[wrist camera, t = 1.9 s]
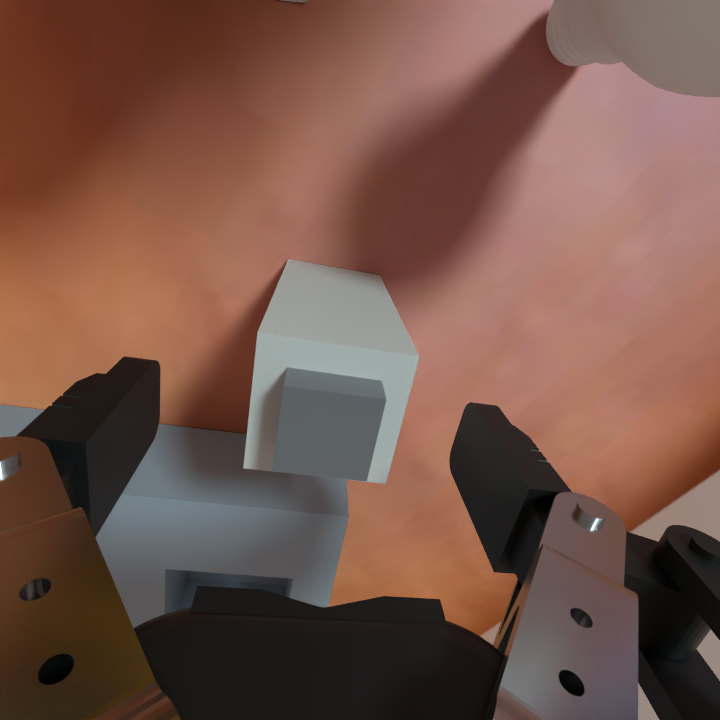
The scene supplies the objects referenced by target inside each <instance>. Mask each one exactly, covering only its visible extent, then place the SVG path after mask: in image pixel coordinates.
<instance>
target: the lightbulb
mask: <svg viewBox="0 0 720 720" xmlns="http://www.w3.org/2000/svg"><path fill="white" fill-rule="evenodd" d="M546 38H547V43H548V46H549V49H550V51H551V53H552V54H553V56H554V57H555V58H556V59H557V60H558V61H559V62H561V63H563V64H565V65H568V66H581V65H587V64H591V63H594V62H596V63H599V64H615V63H620V62H623V63H624V64H625V65H626V66H627V67H628V68H630V69H631V70H632V71H633V72H634V73H636V74H637V75H638V76H639V77H641V78H643V79H644V80H646V81H647V82H649V83H651V84H652V85H654V86H655V87H658V88H661V89H664V90H668V91H671V92H674V93H678V94H685V95H691V96H704V97H720V0H555V1H554V3H553V5H552V7H551V9H550V11H549V14H548V18H547V24H546Z"/></svg>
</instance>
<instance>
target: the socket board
mask: <svg viewBox="0 0 720 720" xmlns="http://www.w3.org/2000/svg"><path fill="white" fill-rule="evenodd" d="M43 411H44V410H40V409H31V408H23V407H14V406H6V405H0V437H10V436H16V435H17V434H18V433H20V432H21V431H22V430H23V429H24V428H25V427H26V426H27V425H29V424H30V423H31V422H32V421H33V420H34V419H35V418H36V417H38V416H39V415H40V414H41V413H42V412H43ZM246 438H247V434H241V433H233V432H224V431H216V430H208V429H199V428H191V427H182V426H174V425H166V424H159V425H158V430H157V433H156V436H155V439H154V441H153V443H152V444H151V446H150V448H149V449H148V451H147V453H146V454H145V456H144V458H143V459H142V461H141V463H140V464H139V466H138V468H137V469H136V471H135V473H134V474H133V476H132V478H131V479H130V481H129V483H128V484H127V486H126V488H125V489H124V491H123V493H122V494H121V496H120V498H119V499H118V501H117V503H116V504H115V506H114V508H113V509H112V511H111V513H110V514H109V516H108V518H107V519H106V521H105V523H104V524H103V526H102V528H101V529H100V531H99V533H98V534H97V536H96V540H97V543H98V545H99V548H100V550H101V552H102V555H103V557H104V559H105V562H106V564H107V567H108V569H109V571H110V574H111V576H112V578H113V581H114V583H115V586H116V588H117V590H118V593H119V595H120V597H121V600H122V602H123V605H124V607H125V609H126V612H127V614H128V616H129V619H130V621H131V624H132V626H133V628H134V627H136V626H138V625H140V624H142V623H144V622H146V621H148V620H151V619H153V618H156V617H158V616H160V615H163V614H166V613H170V612H173V611H176V610H180V609H185V608H190V607H191V606H192V603H193V599H194V596H195V592H196V589H197V586H212V587H230V588H247V589H262V590H265V591H268V592H272V593H275V594H278V595H282V596H285V597H288V598H292V599H295V600H298V601H302V602H305V603H308V604H312V605H315V606H319V607H328V603H329V599H330V595H331V590H332V586H333V582H334V578H335V573H336V569H337V565H338V560H339V556H340V552H341V547H342V543H343V539H344V534H345V530H346V526H347V521H348V517H349V515H348V498H347V482H346V479H337V478H328V477H319V476H310V475H300V474H291V473H282V472H273V471H263V470H254V469H245V468H243V466H244V457H245V447H246Z"/></svg>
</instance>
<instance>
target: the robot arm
mask: <svg viewBox="0 0 720 720" xmlns="http://www.w3.org/2000/svg"><path fill="white" fill-rule="evenodd" d="M159 418H160V365H159V362H158V361H155V360H148V359H140V358H132V357H123V358H122V359H121V360H120V361H119V362H118V363H117V364H116V365H115V366H114V367H113V368H112V369H111V370H110V371H109V372H107V373H106V374H100V373H96V374H94V375H91V376H89V377H87V378H84V379H82V380H80V381H77V382H76V383H75V384H73V385H72V386H71V387H70V388H69V389H68V390H67V391H66V392H64V393H63V396H60V397H59V398H58V399H57V400H56V401H54V402H53V403H52V406H49V407H48V408H47V409H45V410H44V411H43V412H42V413H41V414H40V415H39V416H38V417H36V418H35V419H34V420H33V421H32V422H31V423H30V424H29V425H27V426H26V427H25V428H24V429H23V430H22V431H21V432H20V433H18V434H17V435H16V436H10V437H0V720H638V683H639V684H640V686H641V688H642V689H643V691H644V693H645V695H646V697H647V698H648V700H649V702H650V704H651V705H652V707H653V709H654V711H655V712H656V714H657V716H658V718H659V719H660V720H720V681H719V679H718V678H717V677H716V675H715V674H714V673H713V671H712V670H711V669H710V667H709V666H708V664H707V663H706V662H705V660H704V659H703V658H702V656H701V655H700V653H699V652H698V651H697V649H696V648H697V647H698V646H699V644H700V643H701V642H702V640H703V639H704V638H705V636H706V635H707V634H708V632H709V631H710V629H711V630H712V631H713V632H714V633H715V635H716V636H717V637H718V639H719V640H720V542H719V541H718V540H716V539H714V538H712V537H711V536H709V535H707V534H705V533H703V532H701V531H698V530H696V529H693V528H690V527H686V526H681V525H672V526H669V527H668V528H667V529H666V531H665V532H664V534H663V536H662V537H661V539H660V540H659V542H657V541H654V540H651V539H648V538H645V537H642V536H638V535H635V534H632V533H629V532H626V528H625V525H624V524H623V522H622V520H621V519H620V518H619V517H618V516H617V515H616V514H615V513H614V512H613V511H612V510H611V509H609V508H608V507H607V506H605V505H604V504H602V503H600V502H599V501H597V500H595V499H593V498H591V497H588V496H586V495H583V494H579V493H575V492H571V490H570V489H569V488H568V486H567V485H566V484H565V483H564V481H563V480H562V479H561V477H560V476H559V475H558V474H557V472H556V471H555V470H554V468H553V467H552V466H551V465H550V463H548V462H547V459H546V458H545V457H544V456H543V454H542V453H541V452H539V449H538V448H537V447H536V445H535V444H534V443H533V441H532V440H531V439H530V437H528V436H527V435H526V434H524V433H523V432H522V431H520V430H519V429H518V428H516V427H515V426H514V425H512V424H511V423H510V422H509V420H508V419H507V418H506V416H505V415H504V414H503V412H502V411H501V410H500V408H499V407H498V406H495V405H487V404H479V403H472V402H470V403H468V404H467V405H466V407H465V409H464V412H463V415H462V418H461V421H460V424H459V427H458V430H457V433H456V436H455V439H454V442H453V445H452V449H451V453H450V470H451V473H452V476H453V478H454V480H455V483H456V485H457V487H458V490H459V492H460V494H461V497H462V499H463V501H464V503H465V506H466V508H467V510H468V513H469V515H470V517H471V520H472V522H473V524H474V527H475V529H476V531H477V534H478V536H479V538H480V540H481V543H482V545H483V547H484V550H485V552H486V554H487V557H488V559H489V561H490V564H491V566H492V568H493V571H494V572H499V573H514V574H516V576H517V578H518V580H517V582H516V584H515V586H514V588H513V591H512V593H511V596H510V599H509V602H508V605H507V608H506V610H505V613H504V616H503V619H502V622H501V624H500V627H499V630H498V633H497V636H496V639H495V642H494V644H493V645H492V644H490V643H489V642H487V641H486V640H484V639H483V638H481V637H480V636H478V635H476V634H475V633H473V632H471V631H469V630H467V629H465V628H463V627H461V626H458V625H456V624H454V623H451V622H448V621H446V620H445V616H444V613H443V609H442V605H441V602H440V599H425V598H407V597H389V596H383V597H378V598H372V599H367V600H362V601H357V602H352V603H347V604H342V605H337V606H332V607H319V606H315V605H312V604H308V603H305V602H302V601H298V600H295V599H292V598H288V597H285V596H282V595H278V594H275V593H272V592H268V591H265V590H262V589H247V588H230V587H212V586H197V589H196V592H195V596H194V599H193V603H192V606H191V607H190V608H185V609H180V610H176V611H173V612H170V613H166V614H163V615H160V616H158V617H156V618H153V619H151V620H148V621H146V622H144V623H142V624H140V625H138V626H136V627H134V628H133V626H132V624H131V621H130V619H129V616H128V614H127V612H126V609H125V607H124V605H123V602H122V600H121V597H120V595H119V593H118V590H117V588H116V586H115V583H114V581H113V578H112V576H111V574H110V571H109V569H108V567H107V564H106V562H105V559H104V557H103V555H102V552H101V550H100V548H99V545H98V543H97V540H96V536H97V534H98V533H99V531H100V529H101V528H102V526H103V524H104V523H105V521H106V519H107V518H108V516H109V514H110V513H111V511H112V509H113V508H114V506H115V504H116V503H117V501H118V499H119V498H120V496H121V494H122V493H123V491H124V489H125V488H126V486H127V484H128V483H129V481H130V479H131V478H132V476H133V474H134V473H135V471H136V469H137V468H138V466H139V464H140V463H141V461H142V459H143V458H144V456H145V454H146V453H147V451H148V449H149V448H150V446H151V444H152V443H153V441H154V439H155V436H156V433H157V430H158V425H159Z"/></svg>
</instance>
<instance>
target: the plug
mask: <svg viewBox="0 0 720 720" xmlns="http://www.w3.org/2000/svg"><path fill="white" fill-rule="evenodd" d="M418 360H419V355H418V353H417V351H416V349H415V347H414V345H413V343H412V340H411V338H410V336H409V334H408V332H407V330H406V328H405V326H404V324H403V322H402V320H401V318H400V316H399V314H398V312H397V309H396V307H395V305H394V303H393V301H392V299H391V297H390V295H389V293H388V291H387V289H386V287H385V285H384V283H383V281H382V278H381V276H380V275H376V274H371V273H365V272H359V271H354V270H348V269H342V268H337V267H331V266H325V265H319V264H314V263H308V262H302V261H297V260H291V259H288V261H287V263H286V266H285V268H284V270H283V273H282V275H281V277H280V280H279V282H278V285H277V287H276V289H275V292H274V294H273V297H272V299H271V301H270V304H269V306H268V308H267V311H266V313H265V316H264V318H263V320H262V323H261V325H260V327H259V330H258V332H257V342H256V351H255V361H254V371H253V380H252V390H251V399H250V409H249V418H248V428H247V438H246V447H245V457H244V466H243V468H245V469H254V470H263V471H273V472H282V473H291V474H300V475H310V476H319V477H328V478H337V479H346V480H356V481H365V482H374V483H383V484H386V481H387V477H388V474H389V470H390V466H391V462H392V458H393V455H394V451H395V447H396V443H397V440H398V436H399V432H400V428H401V424H402V421H403V417H404V413H405V409H406V405H407V402H408V398H409V394H410V390H411V387H412V383H413V379H414V375H415V371H416V368H417V364H418Z"/></svg>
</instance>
